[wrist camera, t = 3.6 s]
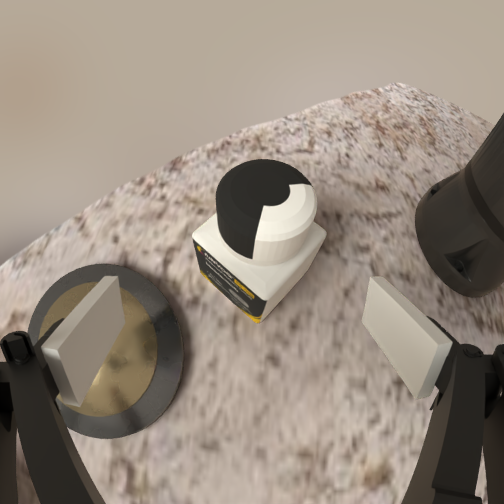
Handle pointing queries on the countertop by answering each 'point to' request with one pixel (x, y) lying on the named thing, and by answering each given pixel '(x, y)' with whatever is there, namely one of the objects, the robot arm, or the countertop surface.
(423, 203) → the robot arm
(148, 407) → the plate
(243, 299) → the medicine bottle
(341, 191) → the countertop surface
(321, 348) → the countertop surface
